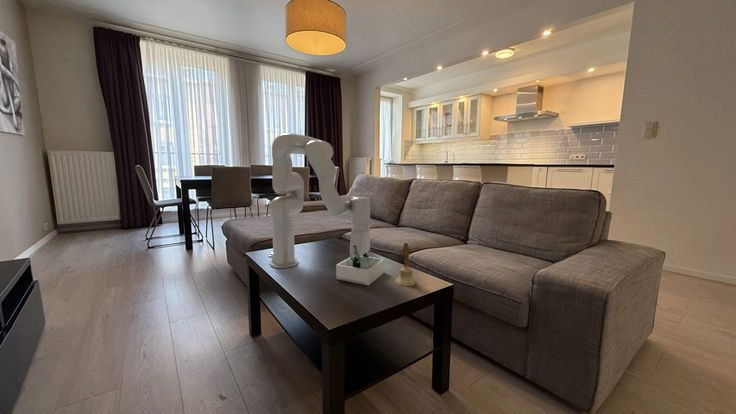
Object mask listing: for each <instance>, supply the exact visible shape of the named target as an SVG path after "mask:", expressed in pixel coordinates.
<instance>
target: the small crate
mask: <svg viewBox="0 0 736 414" xmlns="http://www.w3.org/2000/svg"><path fill="white" fill-rule="evenodd" d="M349 257H350V256H349ZM349 257H348V258H349ZM370 257H371V256H369V257H363V256H362V255H361V256H360V261H359V262H360V268H361V269H367V270H368V269H369V268H370V267H372V266H373V265H375V261H376V258H377V257H374V258H370ZM348 258H346V259H347V260H346V259H345V260H346V266H350V267H353V262H352V260H351V257H350V258H349V259H348ZM356 258H358V257H357V256H356Z"/></svg>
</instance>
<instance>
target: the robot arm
mask: <svg viewBox="0 0 736 414" xmlns="http://www.w3.org/2000/svg"><path fill="white" fill-rule="evenodd" d="M333 148H334V147H333V146H332V145H331V144H330V143H329V142H327V141H325V140H320V139H318V138H314V137H312V136H308V135H304V134H297V133H293V132H291V133H289V132H287V133H282V134H279V135H278V136H276V137H275V138H274V140H273V142H272V144H271V157H272V159H271V160H272V175H271V176H272V178H271V179H272V180H271V181H272V182H271V183H272V190H273V191H274V193H277V194H279V195H280V194H281V195H282V194H283V195H282V196H278V197H275V198H272V199H271V201H270V202H269V205H268V211H269V216H270V220H271V231H272V252H270V253H269V255H268V259H271V261H270V262H269V263H270V267H272V268H274V269H286V268H292V267H295V266H298V264H299V260H298V258H295V257H296V256H295V253H296V252H295V231H294V223H293V220H292V218H291V216H295V215H298V214H300V213H301V212H302V210H303V208H304V202H305V201H304V199H305V184H304V183H305V182H304V179H303V177H302V175H301V174H299V172H296V171H293V161H292V158H291V154H294V155H305V157H306V158H307V160H308V162H309V164H310V166H311V167H312V170H313V171H314V173H315V175H316V177H317V179H318V188H319V195H320V198H321V199H322V202H323V204H324V206H325V208H326V209H327V210H328V212H329V213H330V214H331V215H333V216H338V217H339V216H343V215H345V214H348V213H349V214H350V213H351V232H350V240H349V257H351V260H352V262H353V267H356V268H360V262H359V261H360V256H363V257H370V252H371V247H372V246H371V235H370V233H371V232H370V231H371V200H370V197H368V196H361V195H360V196H354V195H350V194H345V195H340V194H339V192H338V191H337V189H336V186H335V177H336V175H337V174H338V169H337V167H336V166H335V164H334V162H333V160H332V158H333V156H334V149H333ZM284 194H286V195H284ZM356 256H357V257H358V258H356Z"/></svg>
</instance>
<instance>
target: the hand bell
mask: <svg viewBox="0 0 736 414" xmlns="http://www.w3.org/2000/svg"><path fill="white" fill-rule="evenodd" d="M409 255H410V247H409V244H408V242H404V244H403V246H402V256H403V267H400V270H399V275H398V276H397V278H396V279H395V282H394V283H396V285H399V286H402V287H412V286H414V285H416V284H417V280H416V279H415V278H414V276H413V270H412V268H410V267H409Z"/></svg>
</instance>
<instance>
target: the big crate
mask: <svg viewBox="0 0 736 414" xmlns="http://www.w3.org/2000/svg"><path fill="white" fill-rule="evenodd" d="M369 257H370V258H376V261H375V265H373V266H372V267H370V268H369V269H368V270H367V269H361V268H356V267H350V266H346V260H347V259H349V258H350V256H349V257H348V258H346V259H344V260H342V261H340V262H339V263H337V264H336V265H335V273H336V274H335V276H336V277H335V279H336V280H339V281H345V282H349V283H354V284H360V285H363V286H364V285H365V286H370V285H371V284H372V283H373V282H375V281H377V280H378V278H380V277H381V276H382V275H383V274H385V269H386V267H385V266H386V264H385V262H386V261H385V258H379V257H373V256H369Z"/></svg>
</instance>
